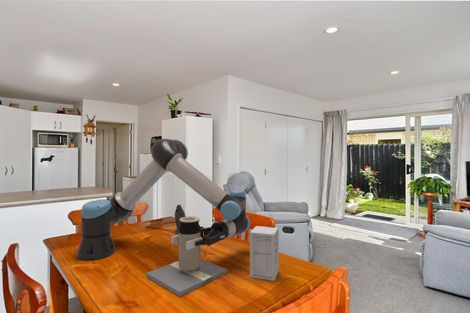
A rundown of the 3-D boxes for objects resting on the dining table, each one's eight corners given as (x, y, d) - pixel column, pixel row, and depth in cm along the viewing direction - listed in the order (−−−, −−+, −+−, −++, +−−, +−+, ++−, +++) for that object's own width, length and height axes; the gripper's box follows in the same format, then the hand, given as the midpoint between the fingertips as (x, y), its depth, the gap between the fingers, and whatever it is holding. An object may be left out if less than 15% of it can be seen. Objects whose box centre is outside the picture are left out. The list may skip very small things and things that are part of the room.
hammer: (147, 209, 165) (185, 203, 152) (151, 235, 164) (190, 230, 151) (140, 211, 160) (178, 205, 147) (144, 237, 159) (183, 233, 145)
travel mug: (181, 272, 93) (181, 222, 93) (176, 264, 100) (176, 217, 100) (202, 268, 96) (203, 220, 96) (197, 260, 104) (197, 215, 103)
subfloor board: (146, 277, 96) (146, 272, 96) (192, 259, 113) (192, 255, 113) (179, 296, 83) (179, 291, 83) (227, 273, 99) (227, 269, 99)
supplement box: (279, 270, 102) (279, 227, 102) (275, 281, 93) (275, 234, 93) (255, 267, 105) (255, 225, 105) (249, 277, 96) (249, 231, 96)
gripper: (241, 243, 105) (198, 261, 88) (206, 233, 119) (162, 246, 102) (241, 225, 105) (198, 238, 88) (206, 216, 119) (162, 227, 101)
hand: (179, 243), depth 95 cm, fingers closed on travel mug, 8 cm apart
